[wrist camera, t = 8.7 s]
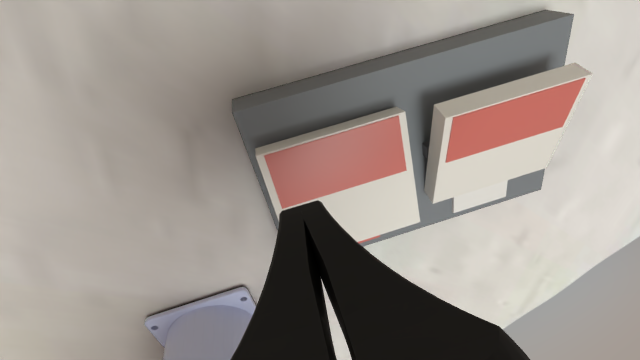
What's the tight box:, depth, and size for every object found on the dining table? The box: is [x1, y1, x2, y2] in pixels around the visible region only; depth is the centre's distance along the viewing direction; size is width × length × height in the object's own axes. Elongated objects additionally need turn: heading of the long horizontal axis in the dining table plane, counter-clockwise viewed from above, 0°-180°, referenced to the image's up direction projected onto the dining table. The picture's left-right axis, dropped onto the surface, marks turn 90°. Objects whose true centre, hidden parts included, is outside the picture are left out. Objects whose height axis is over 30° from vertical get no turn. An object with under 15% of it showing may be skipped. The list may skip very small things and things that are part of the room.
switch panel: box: [232, 10, 574, 247], centre depth 22 cm, size 12×19×3 cm, turn 102°
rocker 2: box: [424, 63, 592, 204], centre depth 20 cm, size 7×8×1 cm
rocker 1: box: [255, 107, 420, 242], centre depth 20 cm, size 7×8×1 cm
